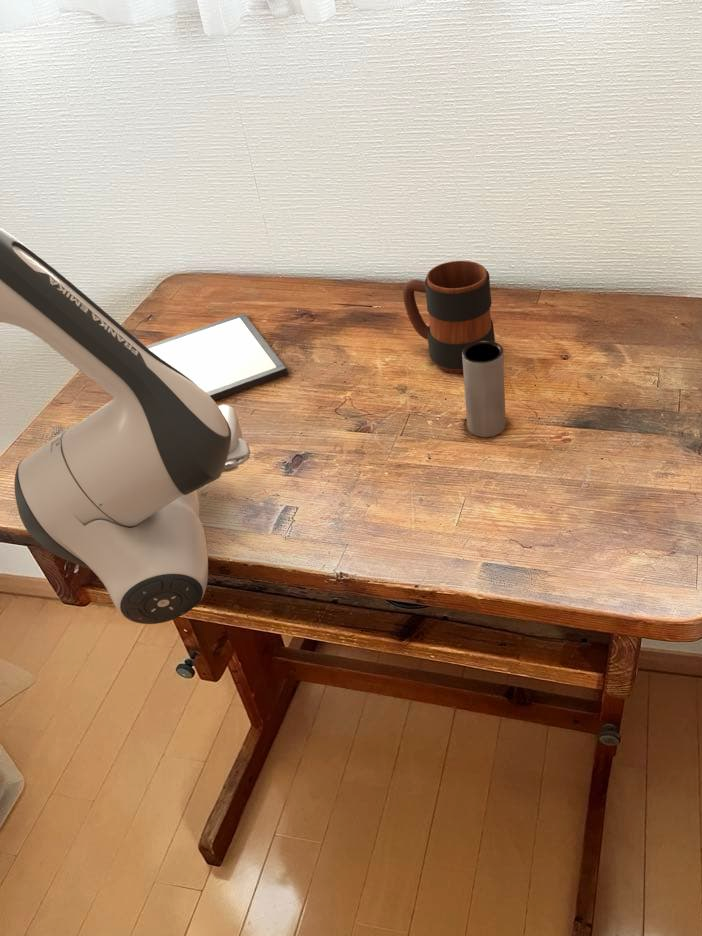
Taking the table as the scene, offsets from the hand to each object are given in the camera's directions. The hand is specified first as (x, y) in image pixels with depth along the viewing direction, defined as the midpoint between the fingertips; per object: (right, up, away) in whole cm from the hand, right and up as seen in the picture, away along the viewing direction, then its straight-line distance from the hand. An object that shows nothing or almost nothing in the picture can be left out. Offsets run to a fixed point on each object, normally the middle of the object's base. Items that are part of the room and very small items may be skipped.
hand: (141, 413), depth 92 cm
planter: (+39, -1, +7) cm, 39 cm away
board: (+1, +10, +23) cm, 25 cm away
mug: (+35, +11, +19) cm, 41 cm away
